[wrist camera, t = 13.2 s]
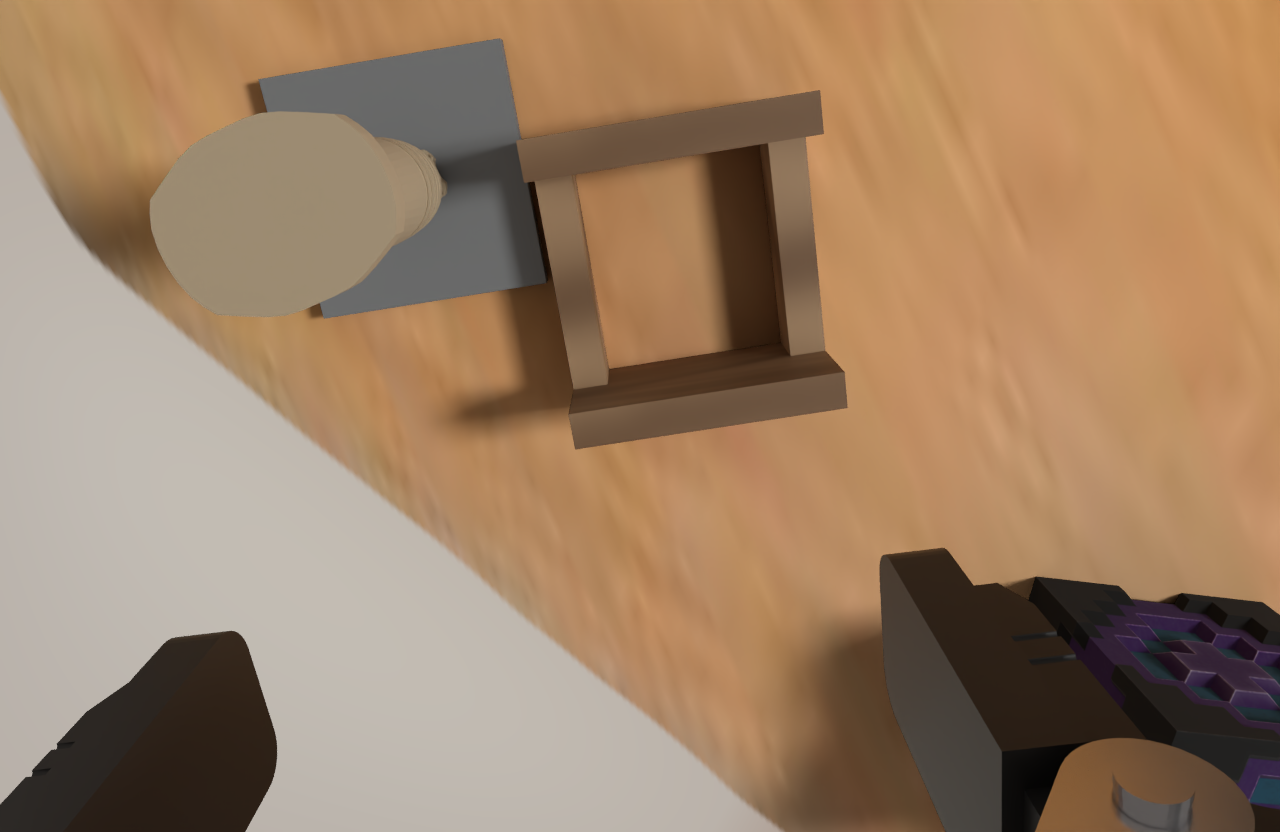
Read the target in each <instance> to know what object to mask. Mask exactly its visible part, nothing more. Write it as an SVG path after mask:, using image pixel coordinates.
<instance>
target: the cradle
mask: <svg viewBox="0 0 1280 832" xmlns="http://www.w3.org/2000/svg"><path fill="white" fill-rule="evenodd" d="M820 134H824V131H823V119H822V108H821V96H820V90H818V91H812V92H806V93H800V94H794V95H788V96H782V97H776V98H769V99H763V100H757V101H751V102H745V103H739V104H733V105H727V106H721V107H715V108H709V109H703V110H697V111H691V112H685V113H679V114H673V115H667V116H661V117H655V118H649V119H643V120H637V121H631V122H625V123H618V124H612V125H606V126H600V127H594V128H588V129H582V130H576V131H570V132H564V133H558V134H552V135H546V136H540V137H534V138H528V139H522V140H516V143H517V149H518V154H519V159H520V164H521V169H522V175H523V180H524V183H527V182H533V181H535V186H536V192H537V197H538V202H539V208H540V213H541V218H542V224H543V229H544V234H545V240H546V245H547V250H548V256H549V261H550V266H551V271H552V277H553V282H554V287H555V293H556V298H557V303H558V309H559V314H560V319H561V325H562V330H563V335H564V341H565V346H566V351H567V357H568V362H569V367H570V372H571V378H572V383H573V388H574V391H573V395H572V400H571V405H570V410H569V420H570V425H571V430H572V435H573V440H574V446H575V449H581V448H588V447H594V446H601V445H607V444H614V443H620V442H627V441H634V440H640V439H647V438H653V437H660V436H666V435H673V434H680V433H686V432H693V431H699V430H706V429H712V428H719V427H726V426H732V425H739V424H745V423H752V422H758V421H765V420H771V419H778V418H785V417H791V416H798V415H804V414H811V413H817V412H824V411H831V410H837V409H844V408H848V407H847V395H846V384H845V372H844V371H843V370H842V369H841V368H840V366H839V365H838V364H837V363H836V362H835V361H834V360H833V359H832V358H831V356H830V355H829V354H828V353H827V352H826V351H825V342H824V331H823V321H822V310H821V299H820V288H819V278H818V267H817V256H816V245H815V235H814V224H813V213H812V203H811V192H810V181H809V170H808V160H807V149H806V138H805V137H808V136H814V135H820ZM753 145H760V155H761V164H762V173H763V182H764V191H765V200H766V210H767V219H768V228H769V237H770V246H771V255H772V265H773V274H774V283H775V292H776V301H777V310H778V319H779V329H780V338H781V343H776V344H770V345H763V346H757V347H750V348H744V349H737V350H731V351H725V352H718V353H712V354H705V355H699V356H692V357H686V358H679V359H673V360H667V361H660V362H654V363H647V364H641V365H634V366H628V367H622V368H615V369H609V367H608V361H607V355H606V350H605V344H604V338H603V332H602V327H601V321H600V315H599V309H598V304H597V298H596V292H595V286H594V281H593V275H592V269H591V263H590V258H589V252H588V246H587V240H586V235H585V229H584V223H583V217H582V212H581V206H580V200H579V194H578V189H577V183H576V177H575V175H576V174H582V173H588V172H594V171H600V170H607V169H613V168H619V167H625V166H631V165H637V164H643V163H649V162H655V161H662V160H668V159H674V158H680V157H686V156H692V155H698V154H704V153H710V152H716V151H723V150H729V149H735V148H741V147H747V146H753Z"/></svg>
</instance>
